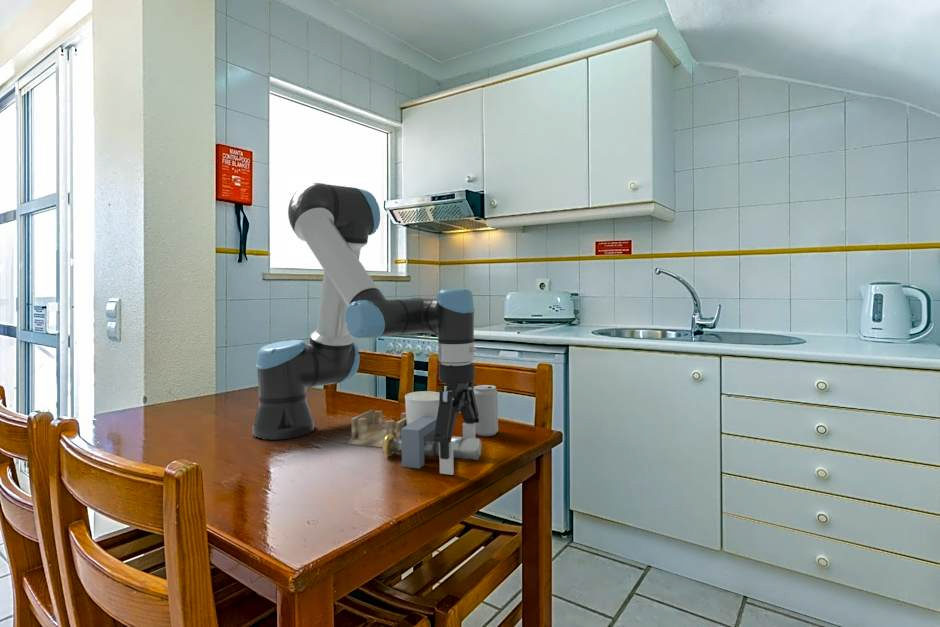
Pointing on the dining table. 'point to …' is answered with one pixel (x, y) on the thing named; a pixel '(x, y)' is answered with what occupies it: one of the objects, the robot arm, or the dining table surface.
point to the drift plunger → (395, 445)
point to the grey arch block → (417, 441)
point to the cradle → (374, 428)
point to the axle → (464, 448)
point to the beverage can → (486, 410)
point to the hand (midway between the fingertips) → (458, 462)
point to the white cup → (421, 405)
